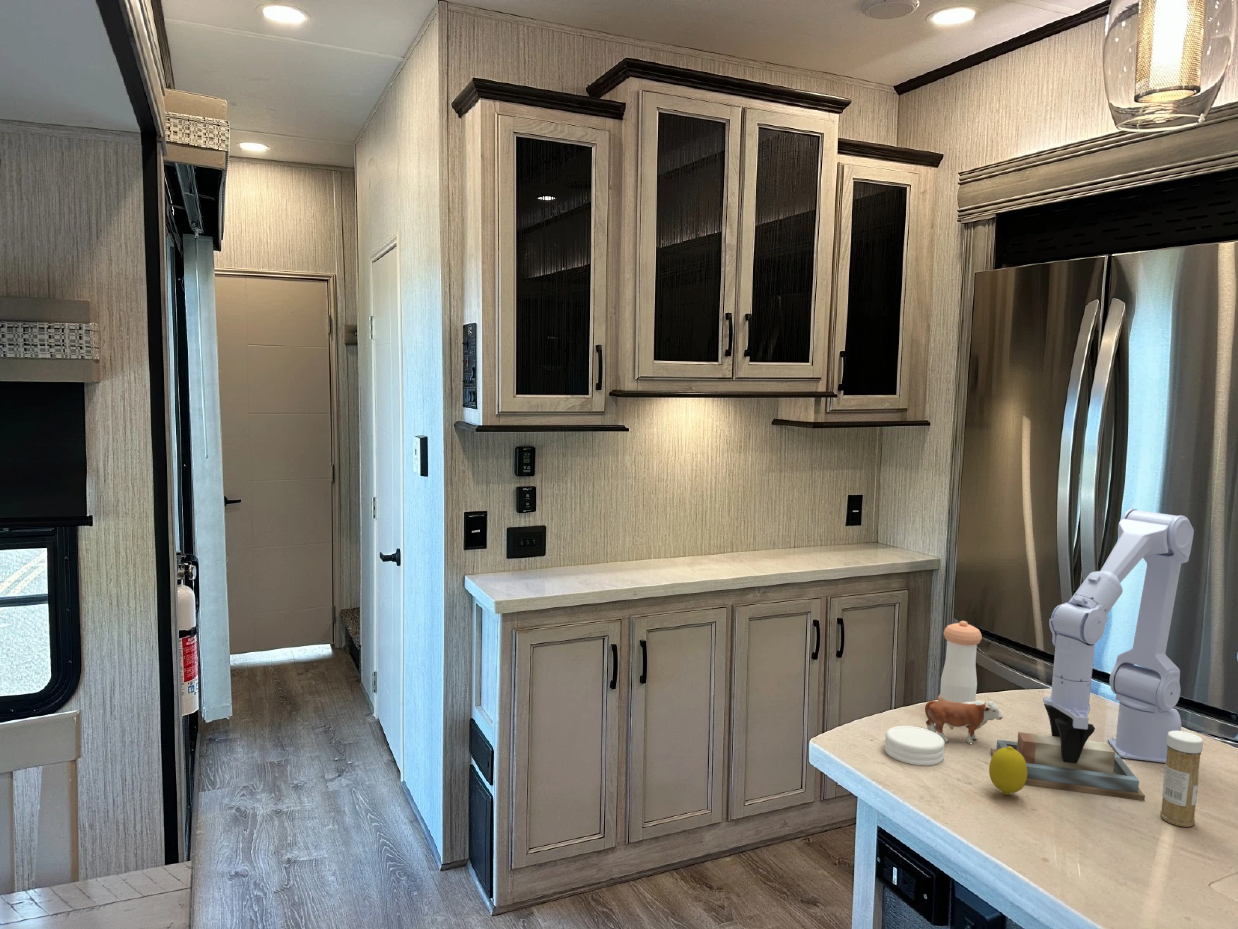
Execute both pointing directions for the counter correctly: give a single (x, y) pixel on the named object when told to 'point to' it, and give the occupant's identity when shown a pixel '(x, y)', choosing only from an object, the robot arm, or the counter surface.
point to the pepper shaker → (960, 663)
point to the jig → (1082, 778)
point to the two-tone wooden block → (1049, 754)
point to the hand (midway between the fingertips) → (1065, 754)
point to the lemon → (1008, 770)
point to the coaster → (914, 745)
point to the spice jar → (1181, 778)
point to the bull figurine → (960, 716)
